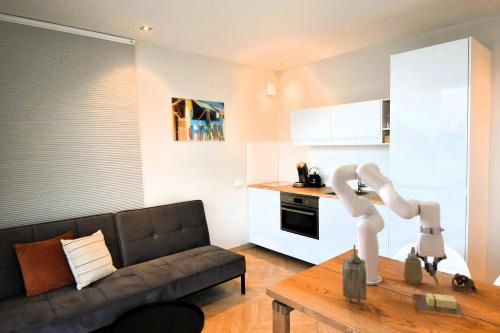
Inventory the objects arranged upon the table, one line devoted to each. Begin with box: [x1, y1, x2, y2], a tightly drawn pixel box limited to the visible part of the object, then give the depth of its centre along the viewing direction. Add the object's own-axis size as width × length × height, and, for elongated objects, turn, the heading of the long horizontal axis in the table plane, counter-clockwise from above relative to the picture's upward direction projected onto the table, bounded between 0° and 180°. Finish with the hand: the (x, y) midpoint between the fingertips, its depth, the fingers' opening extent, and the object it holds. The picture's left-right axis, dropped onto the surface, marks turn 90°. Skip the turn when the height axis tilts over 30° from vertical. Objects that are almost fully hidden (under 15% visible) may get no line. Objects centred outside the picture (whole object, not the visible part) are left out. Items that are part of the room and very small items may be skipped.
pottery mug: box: [451, 272, 478, 293], centre depth 139 cm, size 12×10×8 cm
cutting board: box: [411, 292, 465, 317], centre depth 126 cm, size 16×14×1 cm
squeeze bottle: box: [403, 246, 424, 285], centre depth 147 cm, size 8×8×18 cm
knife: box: [427, 262, 439, 286], centre depth 130 cm, size 2×18×3 cm, turn 160°
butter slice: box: [425, 292, 434, 306], centre depth 127 cm, size 2×5×3 cm, turn 160°
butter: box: [433, 293, 458, 309], centre depth 125 cm, size 7×5×3 cm
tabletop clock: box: [342, 244, 367, 310], centre depth 131 cm, size 14×9×25 cm, turn 163°
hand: (430, 271), depth 134 cm, fingers closed on knife, 2 cm apart
